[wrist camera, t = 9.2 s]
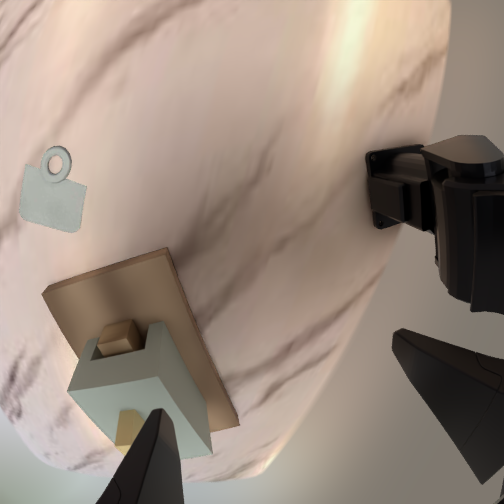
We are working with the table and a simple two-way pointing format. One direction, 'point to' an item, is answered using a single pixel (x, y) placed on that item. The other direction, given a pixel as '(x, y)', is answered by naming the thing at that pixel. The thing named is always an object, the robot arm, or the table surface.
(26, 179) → the mounting bracket
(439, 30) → the table surface
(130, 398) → the cabinet block
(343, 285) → the table surface
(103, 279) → the cleat board
